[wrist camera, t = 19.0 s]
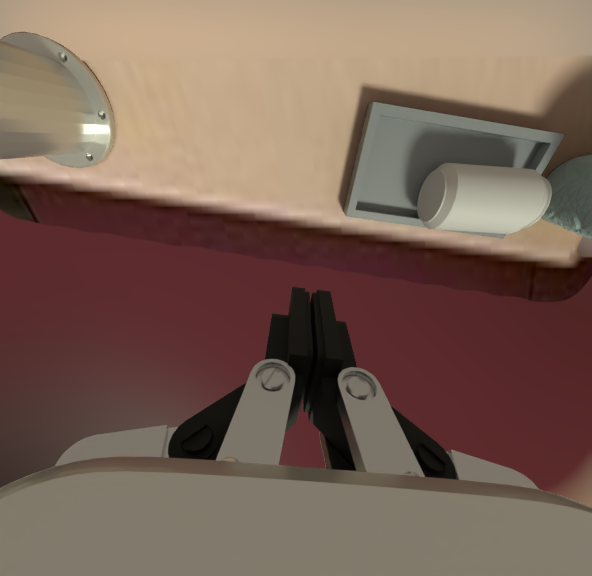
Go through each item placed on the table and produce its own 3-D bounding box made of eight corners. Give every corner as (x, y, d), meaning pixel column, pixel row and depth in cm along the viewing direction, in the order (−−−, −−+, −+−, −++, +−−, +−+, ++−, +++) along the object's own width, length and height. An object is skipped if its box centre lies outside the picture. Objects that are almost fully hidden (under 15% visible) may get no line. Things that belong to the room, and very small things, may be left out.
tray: (343, 211, 35) (346, 216, 33) (368, 104, 29) (373, 101, 27) (491, 232, 37) (503, 238, 35) (546, 134, 30) (565, 134, 28)
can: (458, 189, 25) (575, 198, 25) (438, 148, 29) (539, 155, 29) (421, 241, 31) (515, 247, 31) (409, 201, 35) (492, 207, 35)
